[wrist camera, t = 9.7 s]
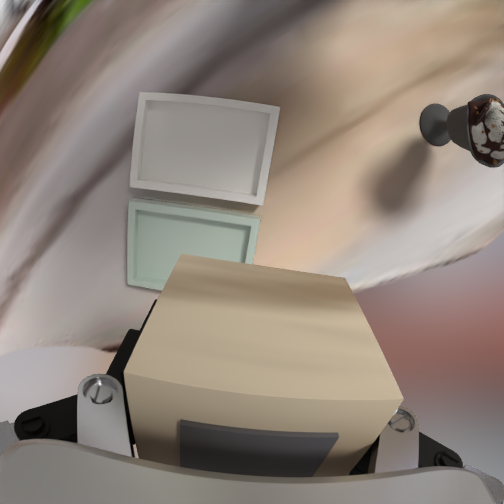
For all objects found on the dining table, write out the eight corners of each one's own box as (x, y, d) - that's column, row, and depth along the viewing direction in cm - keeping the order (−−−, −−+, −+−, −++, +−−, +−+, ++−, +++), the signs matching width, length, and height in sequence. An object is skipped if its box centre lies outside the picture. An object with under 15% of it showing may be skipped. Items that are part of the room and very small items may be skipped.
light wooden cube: (181, 253, 11) (121, 376, 6) (345, 278, 12) (405, 404, 6) (175, 376, 14) (145, 493, 8) (304, 392, 14) (320, 507, 8)
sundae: (461, 151, 30) (551, 177, 17) (416, 154, 31) (504, 181, 17) (456, 97, 28) (548, 99, 14) (409, 96, 28) (498, 90, 15)
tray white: (144, 93, 29) (139, 91, 27) (279, 107, 30) (280, 107, 28) (134, 184, 33) (129, 187, 31) (262, 202, 33) (263, 205, 32)
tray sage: (133, 197, 33) (128, 201, 32) (260, 215, 34) (260, 219, 33) (131, 278, 37) (127, 284, 36) (245, 297, 38) (245, 303, 36)
